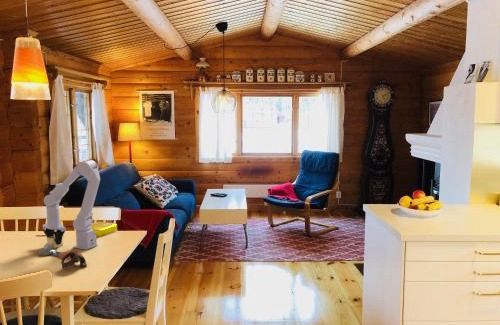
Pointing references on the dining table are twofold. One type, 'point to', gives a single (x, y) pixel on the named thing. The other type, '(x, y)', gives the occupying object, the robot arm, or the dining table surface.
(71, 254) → the brown arched piece
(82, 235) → the robot arm
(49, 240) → the wooden cube
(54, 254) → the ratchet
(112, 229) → the element tile
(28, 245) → the dining table surface
